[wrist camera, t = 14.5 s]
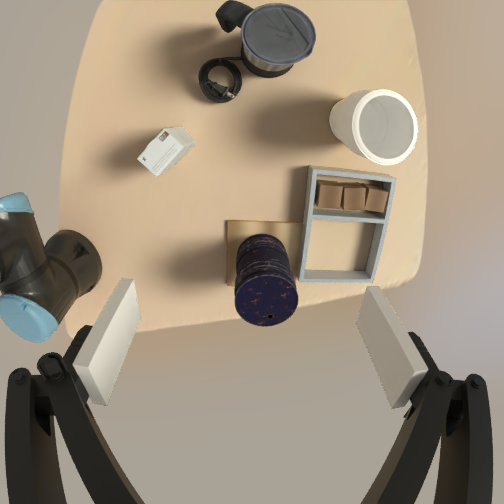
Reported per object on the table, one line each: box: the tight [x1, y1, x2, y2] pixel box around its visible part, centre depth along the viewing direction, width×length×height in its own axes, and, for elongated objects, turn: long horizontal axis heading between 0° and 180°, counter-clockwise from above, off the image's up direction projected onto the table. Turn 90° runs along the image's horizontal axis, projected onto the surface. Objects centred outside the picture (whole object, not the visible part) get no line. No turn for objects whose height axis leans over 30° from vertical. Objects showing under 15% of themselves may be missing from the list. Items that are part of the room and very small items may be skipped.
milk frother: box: [199, 0, 316, 103], centre depth 36 cm, size 14×16×15 cm
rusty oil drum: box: [235, 234, 298, 326], centre depth 51 cm, size 10×10×15 cm
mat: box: [227, 220, 303, 286], centre depth 58 cm, size 14×14×1 cm
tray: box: [297, 165, 396, 283], centre depth 54 cm, size 16×22×3 cm
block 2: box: [339, 182, 366, 210], centre depth 51 cm, size 4×4×4 cm
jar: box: [329, 89, 418, 165], centre depth 40 cm, size 11×10×15 cm
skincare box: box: [137, 126, 197, 177], centre depth 43 cm, size 6×4×12 cm
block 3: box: [361, 183, 388, 213], centre depth 52 cm, size 4×4×4 cm
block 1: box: [314, 180, 343, 209], centre depth 51 cm, size 4×4×4 cm
